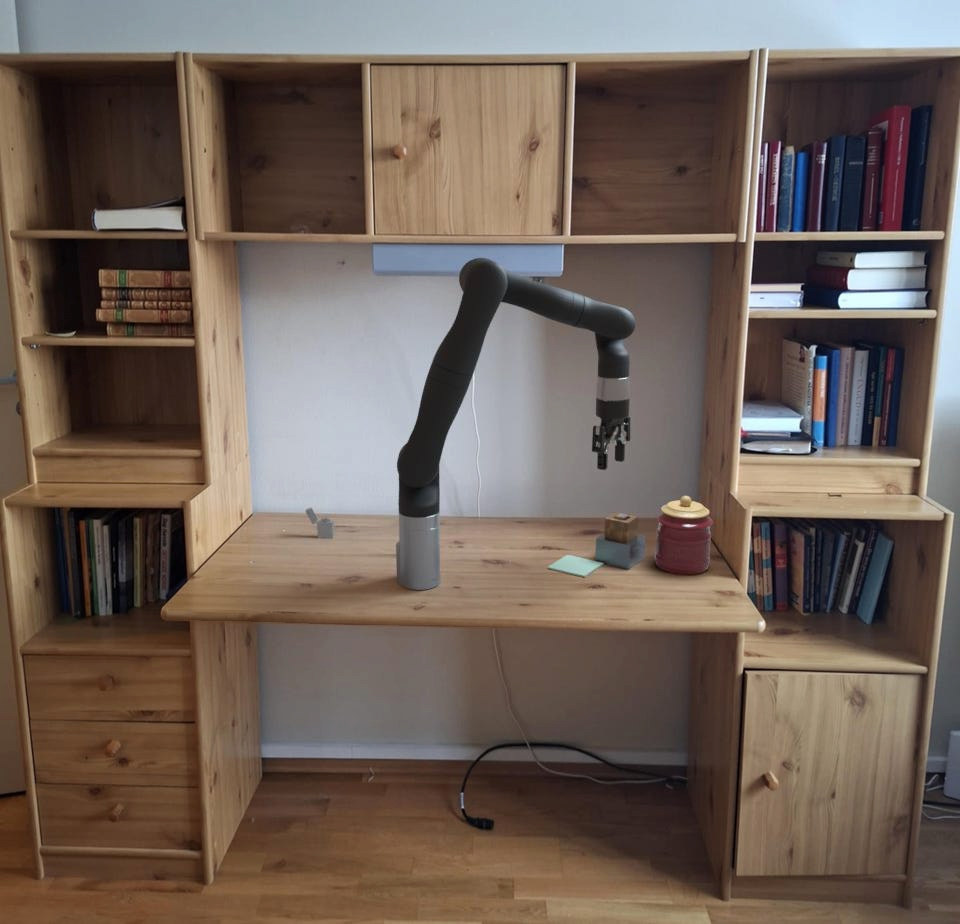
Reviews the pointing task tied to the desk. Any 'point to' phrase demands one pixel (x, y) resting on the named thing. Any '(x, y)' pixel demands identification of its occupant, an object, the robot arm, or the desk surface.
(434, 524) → the robot arm
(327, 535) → the lighter
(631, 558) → the block
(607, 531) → the hollow wooden block
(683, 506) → the canister
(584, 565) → the mat
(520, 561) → the desk surface
